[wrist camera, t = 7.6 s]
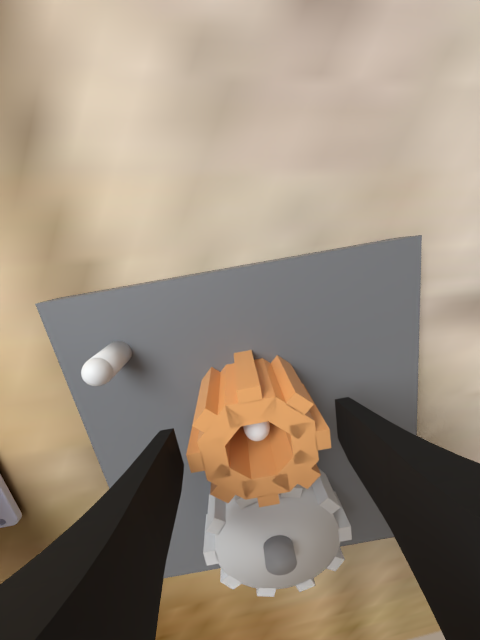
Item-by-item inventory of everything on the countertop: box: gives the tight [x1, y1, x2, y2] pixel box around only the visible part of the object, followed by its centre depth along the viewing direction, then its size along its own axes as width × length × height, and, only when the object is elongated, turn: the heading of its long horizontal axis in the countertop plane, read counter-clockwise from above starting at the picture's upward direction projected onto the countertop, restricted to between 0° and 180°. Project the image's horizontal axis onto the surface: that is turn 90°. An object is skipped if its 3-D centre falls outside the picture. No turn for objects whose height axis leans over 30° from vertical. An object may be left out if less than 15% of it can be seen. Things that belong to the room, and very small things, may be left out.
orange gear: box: [186, 350, 331, 507], centre depth 11 cm, size 6×6×4 cm
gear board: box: [36, 235, 422, 597], centre depth 13 cm, size 18×19×4 cm
